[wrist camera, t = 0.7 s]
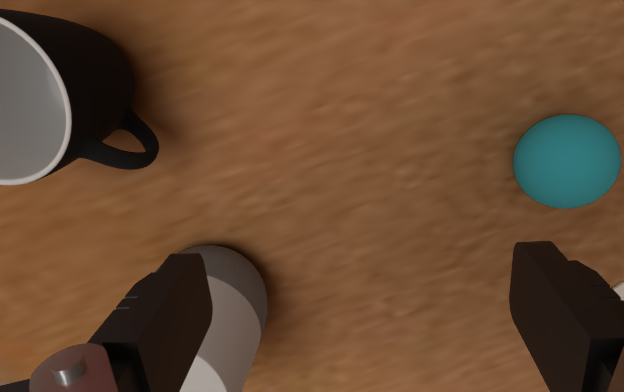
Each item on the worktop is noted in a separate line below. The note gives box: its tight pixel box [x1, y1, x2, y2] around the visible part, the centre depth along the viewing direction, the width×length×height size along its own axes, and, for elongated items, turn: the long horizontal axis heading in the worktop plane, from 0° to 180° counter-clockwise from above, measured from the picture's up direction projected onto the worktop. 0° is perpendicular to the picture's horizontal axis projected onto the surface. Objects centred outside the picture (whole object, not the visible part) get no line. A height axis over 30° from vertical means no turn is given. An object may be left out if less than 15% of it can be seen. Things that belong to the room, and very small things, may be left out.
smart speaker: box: [154, 245, 268, 392], centre depth 31 cm, size 10×9×14 cm
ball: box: [513, 114, 621, 208], centre depth 28 cm, size 6×6×6 cm
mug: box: [0, 9, 159, 185], centre depth 27 cm, size 12×9×10 cm
